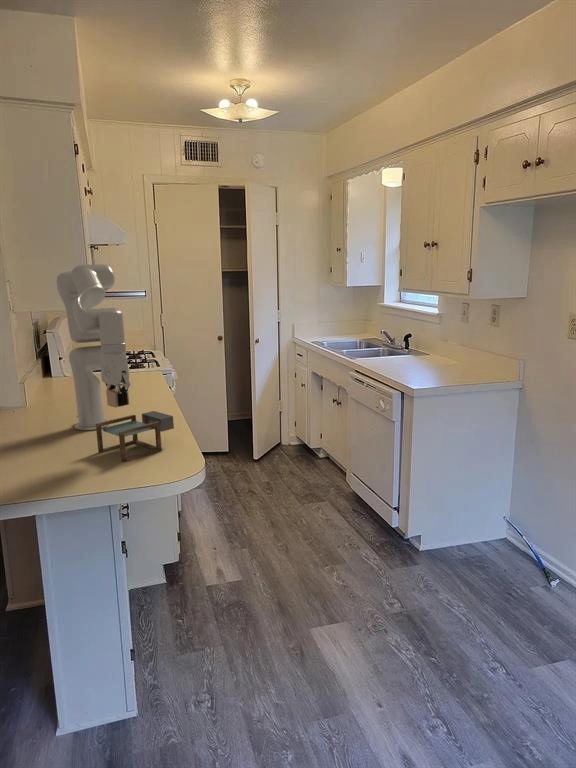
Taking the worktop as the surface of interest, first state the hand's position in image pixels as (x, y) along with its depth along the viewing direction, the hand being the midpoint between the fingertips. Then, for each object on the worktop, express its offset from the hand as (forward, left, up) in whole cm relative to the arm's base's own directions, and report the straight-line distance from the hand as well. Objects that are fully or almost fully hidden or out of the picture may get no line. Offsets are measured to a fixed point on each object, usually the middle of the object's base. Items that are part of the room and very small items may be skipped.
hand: (118, 403), depth 181 cm
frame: (0, +3, -17) cm, 17 cm away
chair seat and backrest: (0, +7, -11) cm, 13 cm away
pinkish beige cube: (0, 0, -1) cm, 1 cm away
